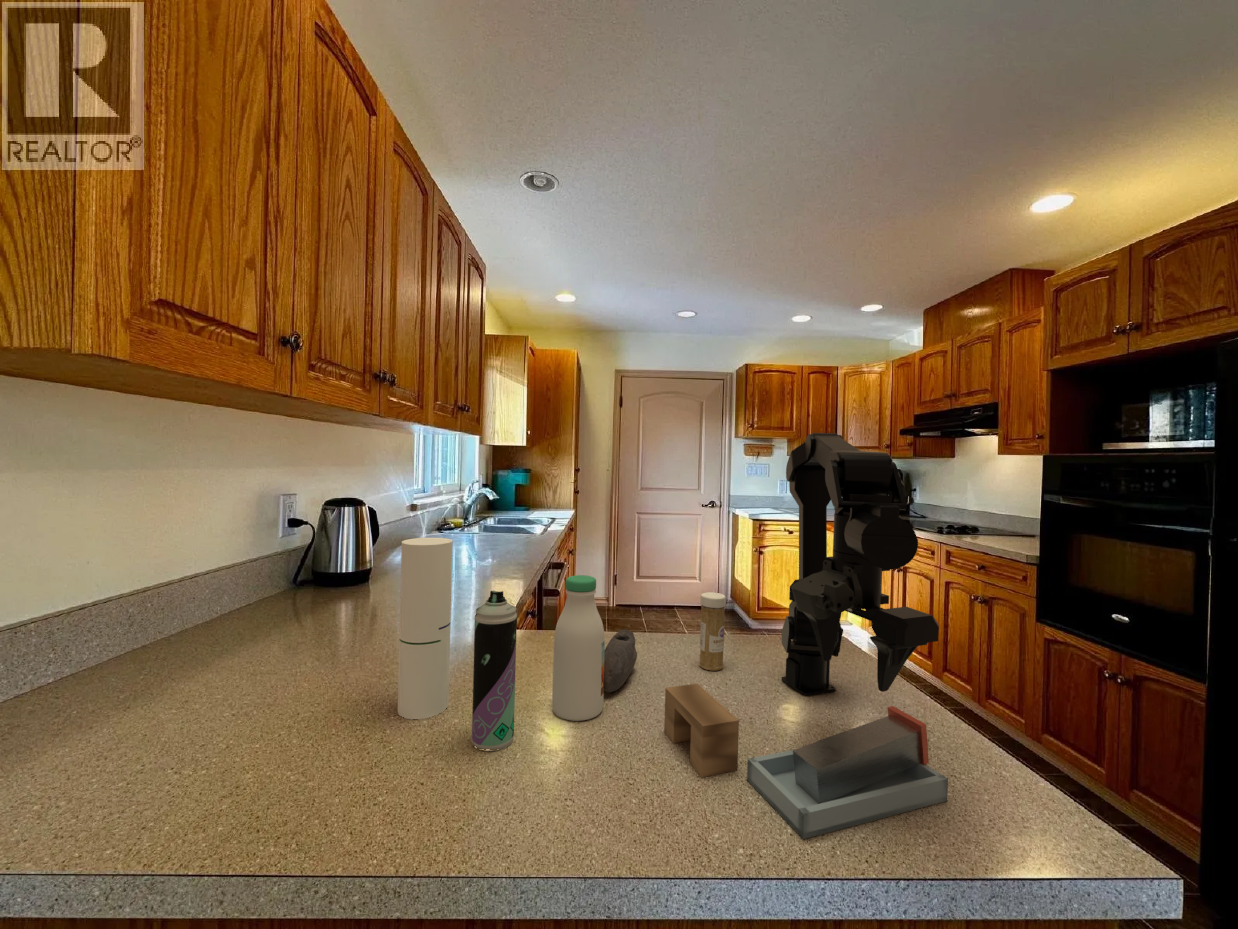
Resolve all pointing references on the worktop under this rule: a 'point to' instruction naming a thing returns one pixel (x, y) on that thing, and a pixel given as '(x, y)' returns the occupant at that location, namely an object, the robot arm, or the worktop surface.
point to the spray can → (494, 673)
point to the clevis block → (702, 729)
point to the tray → (851, 809)
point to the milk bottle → (578, 654)
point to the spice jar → (712, 631)
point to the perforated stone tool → (619, 660)
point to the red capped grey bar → (861, 756)
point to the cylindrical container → (424, 627)
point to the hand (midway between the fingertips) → (852, 674)
